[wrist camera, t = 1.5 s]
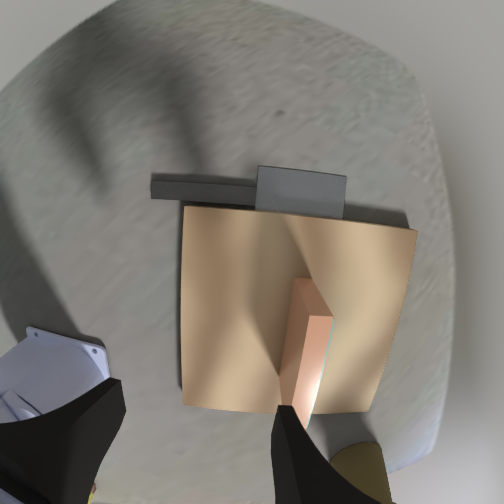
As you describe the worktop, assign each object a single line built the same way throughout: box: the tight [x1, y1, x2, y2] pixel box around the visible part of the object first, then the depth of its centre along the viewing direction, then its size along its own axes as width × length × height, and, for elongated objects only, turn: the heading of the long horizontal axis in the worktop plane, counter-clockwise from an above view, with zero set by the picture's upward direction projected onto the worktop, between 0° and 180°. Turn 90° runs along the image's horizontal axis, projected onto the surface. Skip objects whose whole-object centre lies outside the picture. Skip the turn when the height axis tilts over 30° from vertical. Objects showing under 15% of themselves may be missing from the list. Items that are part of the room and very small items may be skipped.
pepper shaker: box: [330, 442, 396, 504], centre depth 20 cm, size 6×6×11 cm
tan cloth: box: [181, 205, 418, 414], centre depth 21 cm, size 16×16×1 cm
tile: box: [279, 277, 335, 429], centre depth 17 cm, size 1×8×6 cm, turn 174°
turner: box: [151, 166, 347, 219], centre depth 19 cm, size 13×4×1 cm, turn 85°
